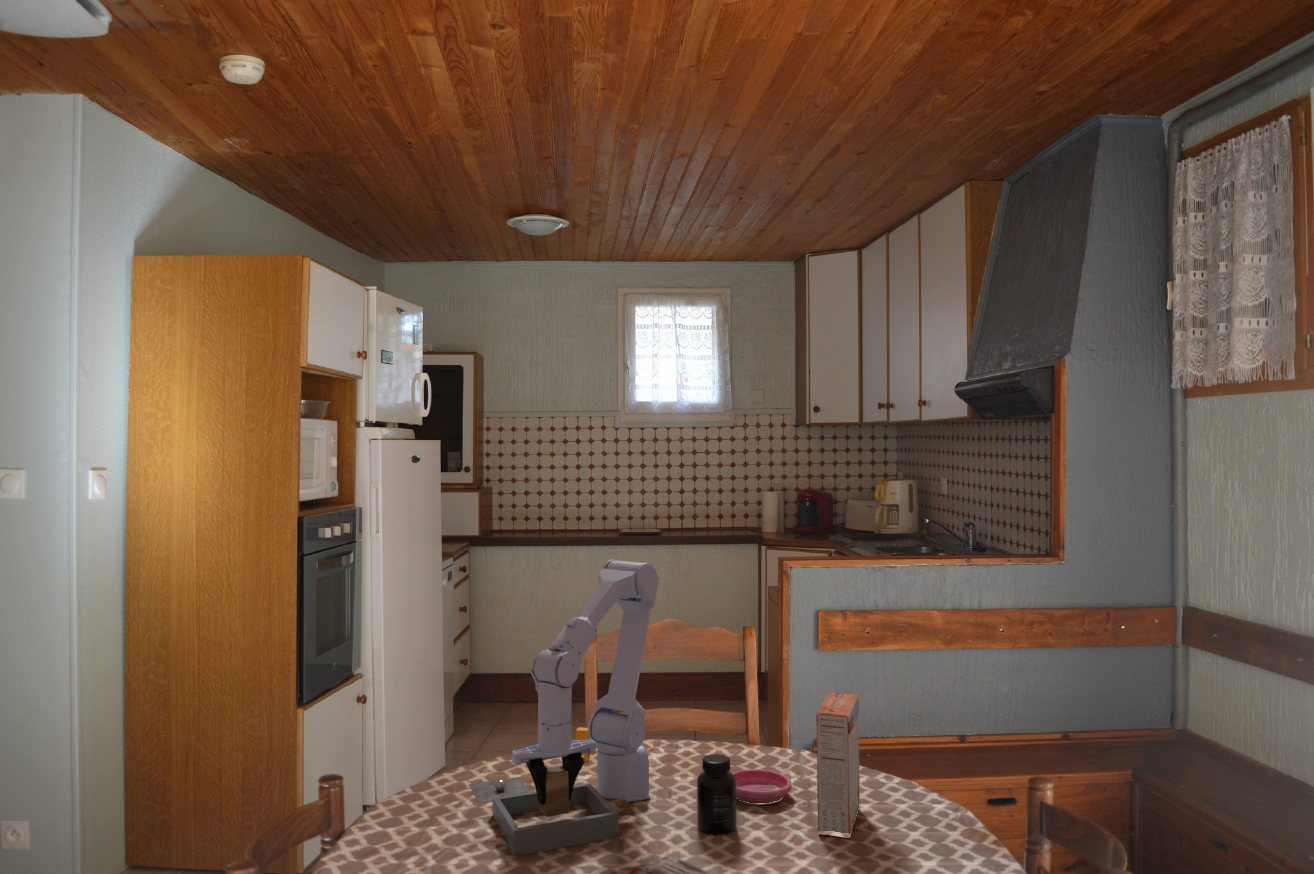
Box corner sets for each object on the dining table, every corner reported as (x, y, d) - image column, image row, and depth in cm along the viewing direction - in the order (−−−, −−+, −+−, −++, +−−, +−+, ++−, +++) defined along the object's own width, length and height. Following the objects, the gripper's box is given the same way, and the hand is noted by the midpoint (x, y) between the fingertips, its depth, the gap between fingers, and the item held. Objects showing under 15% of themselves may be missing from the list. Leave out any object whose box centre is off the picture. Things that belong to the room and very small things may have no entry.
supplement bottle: (740, 823, 155) (740, 754, 155) (731, 839, 149) (731, 767, 149) (703, 817, 157) (703, 749, 158) (691, 833, 151) (692, 762, 151)
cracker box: (827, 804, 163) (827, 690, 164) (860, 809, 161) (860, 694, 162) (814, 835, 150) (814, 711, 151) (850, 840, 148) (850, 715, 149)
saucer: (728, 782, 175) (728, 766, 175) (791, 786, 173) (791, 770, 173) (722, 807, 163) (722, 789, 163) (791, 811, 161) (791, 794, 161)
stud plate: (519, 782, 174) (519, 767, 174) (533, 800, 165) (533, 785, 165) (468, 789, 170) (468, 774, 170) (479, 808, 161) (479, 793, 161)
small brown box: (568, 812, 152) (568, 771, 152) (546, 817, 150) (546, 774, 150) (560, 805, 155) (560, 764, 156) (538, 809, 154) (538, 768, 154)
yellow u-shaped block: (569, 757, 189) (570, 726, 189) (589, 758, 188) (590, 727, 188) (555, 777, 177) (555, 745, 177) (576, 779, 176) (577, 746, 176)
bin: (589, 804, 163) (589, 783, 163) (618, 837, 149) (618, 813, 149) (492, 820, 156) (492, 797, 156) (513, 856, 142) (513, 831, 142)
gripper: (585, 709, 159) (585, 785, 159) (507, 719, 153) (506, 798, 153) (600, 720, 153) (600, 799, 153) (519, 731, 147) (518, 813, 147)
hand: (554, 800), depth 152 cm, fingers closed on small brown box, 4 cm apart
